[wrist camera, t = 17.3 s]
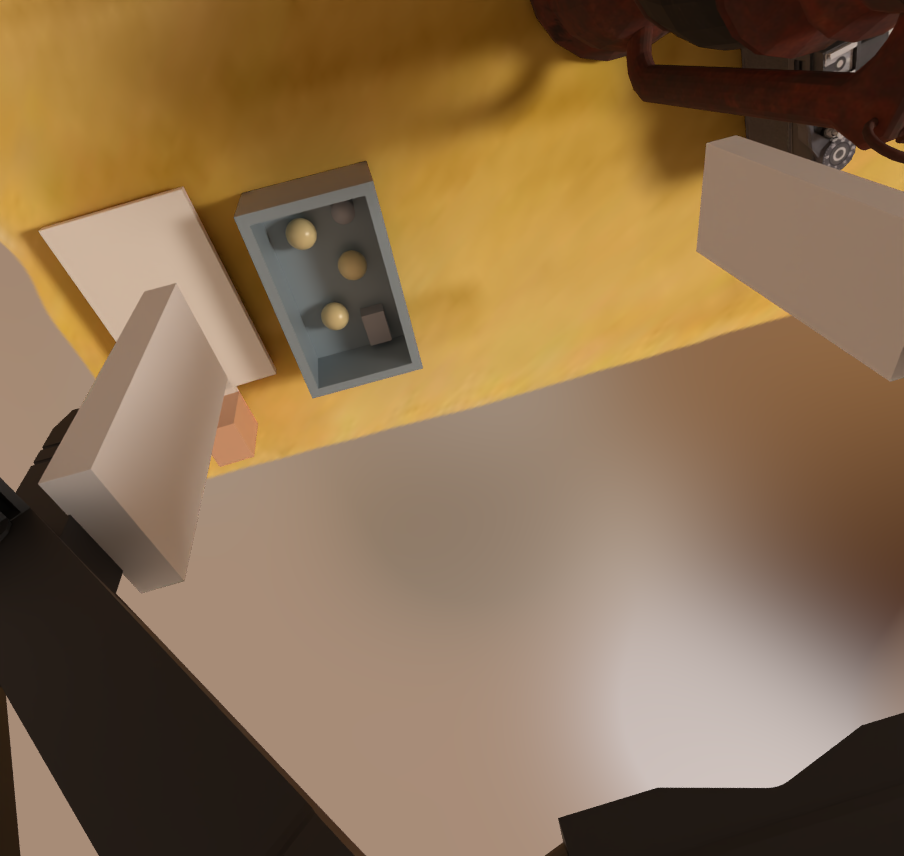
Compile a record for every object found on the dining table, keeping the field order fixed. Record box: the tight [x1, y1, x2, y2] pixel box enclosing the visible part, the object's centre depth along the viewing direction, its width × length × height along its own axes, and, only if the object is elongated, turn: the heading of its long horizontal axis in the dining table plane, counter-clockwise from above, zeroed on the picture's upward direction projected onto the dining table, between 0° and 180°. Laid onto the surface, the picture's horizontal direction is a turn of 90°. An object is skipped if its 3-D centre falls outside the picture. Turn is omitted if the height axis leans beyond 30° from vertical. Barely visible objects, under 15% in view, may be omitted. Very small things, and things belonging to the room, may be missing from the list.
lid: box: [38, 186, 276, 467], centre depth 47 cm, size 21×11×7 cm, turn 13°
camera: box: [741, 28, 893, 170], centre depth 41 cm, size 14×11×10 cm
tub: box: [234, 161, 423, 398], centre depth 47 cm, size 16×10×6 cm, turn 11°
